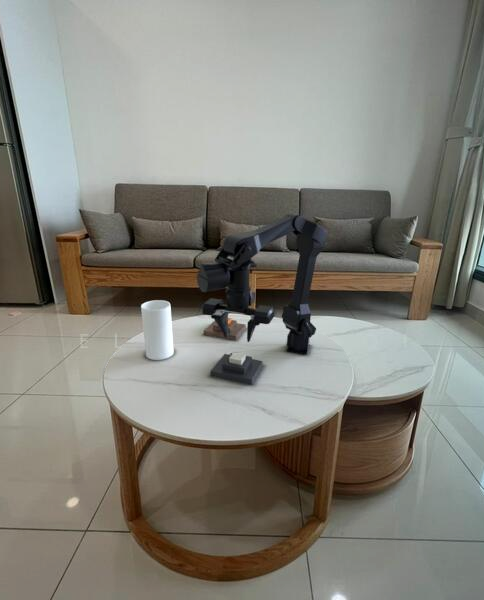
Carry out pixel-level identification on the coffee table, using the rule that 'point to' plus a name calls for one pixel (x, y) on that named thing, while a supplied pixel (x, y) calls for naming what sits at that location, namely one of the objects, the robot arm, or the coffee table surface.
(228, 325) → the key back
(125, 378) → the coffee table surface
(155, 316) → the cup
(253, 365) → the dark grey stepped stand
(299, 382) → the coffee table surface
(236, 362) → the key front
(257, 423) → the coffee table surface
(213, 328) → the stepped brown pyramid
